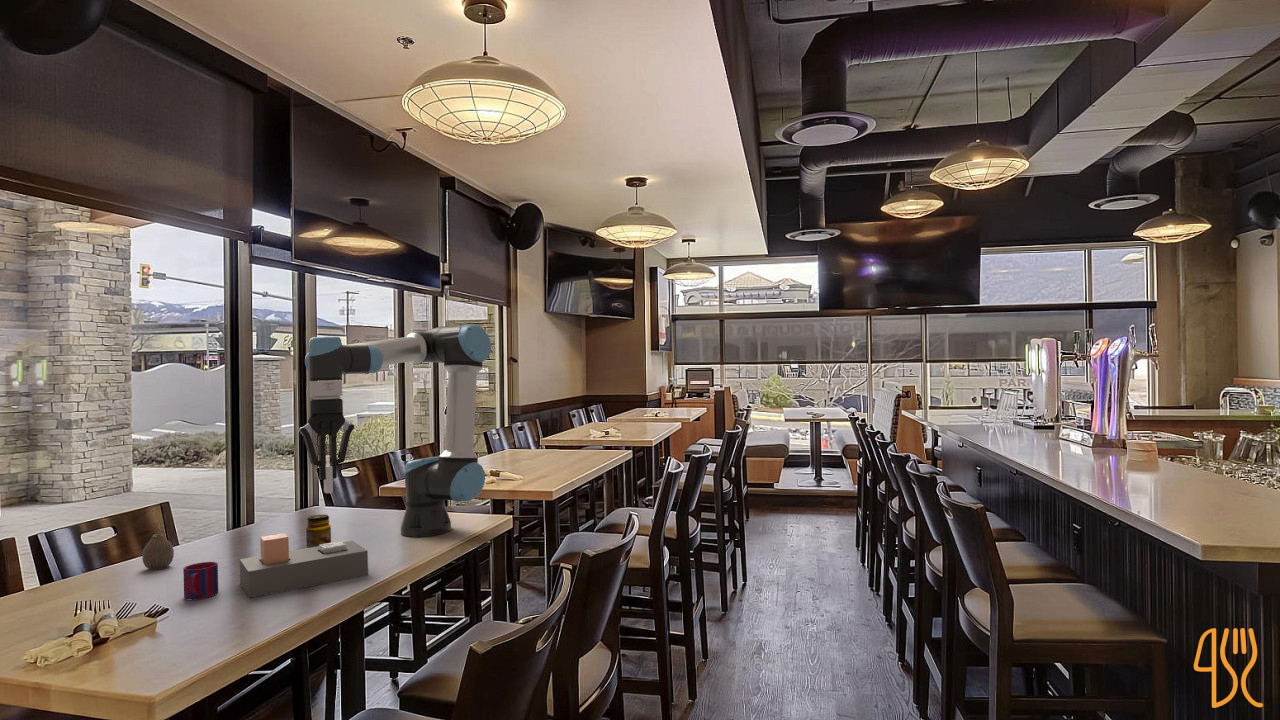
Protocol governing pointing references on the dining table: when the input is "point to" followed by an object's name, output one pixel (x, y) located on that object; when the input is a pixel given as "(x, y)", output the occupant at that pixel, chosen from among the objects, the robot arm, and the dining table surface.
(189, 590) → the mug
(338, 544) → the white block
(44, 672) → the dining table surface
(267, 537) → the tan rectangular block
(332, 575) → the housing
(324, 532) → the condiment
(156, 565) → the vase
